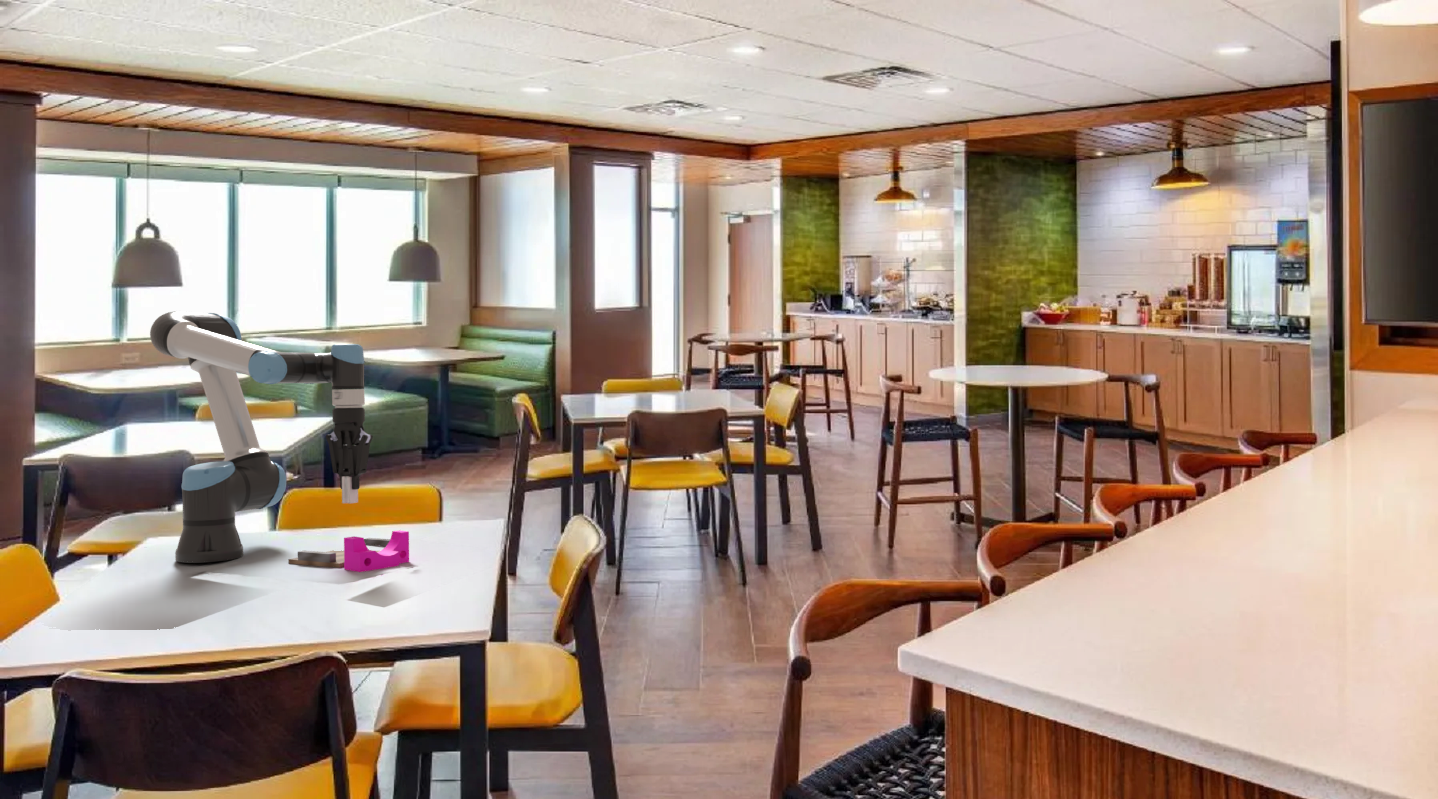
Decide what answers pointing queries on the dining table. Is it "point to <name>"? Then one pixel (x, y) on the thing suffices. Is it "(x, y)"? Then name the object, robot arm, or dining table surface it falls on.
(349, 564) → the toy block
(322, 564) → the wooden serving tray
